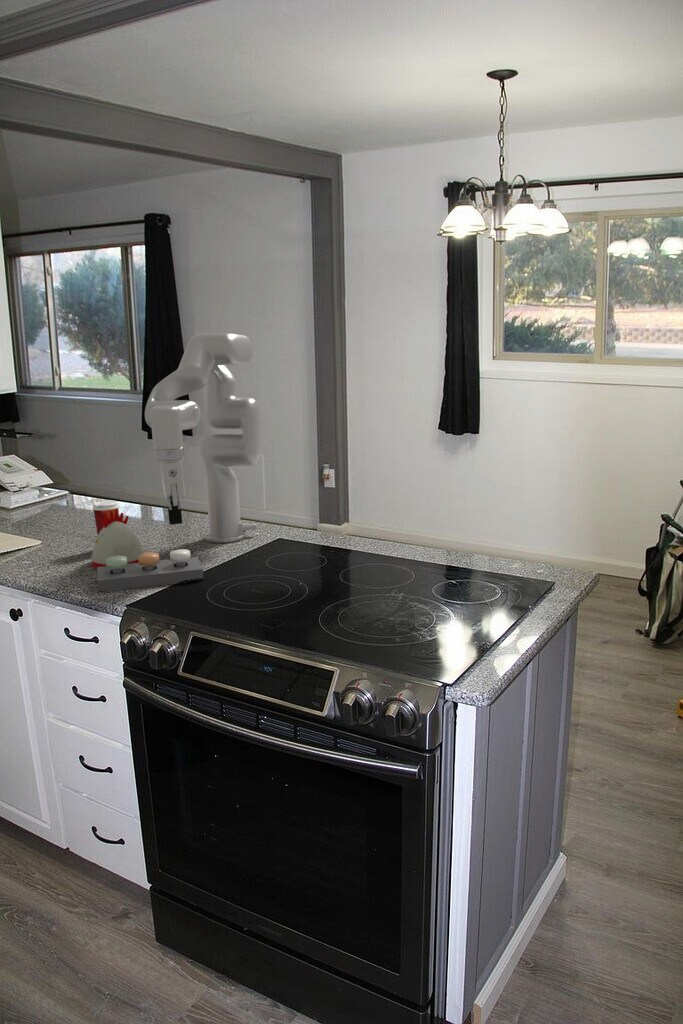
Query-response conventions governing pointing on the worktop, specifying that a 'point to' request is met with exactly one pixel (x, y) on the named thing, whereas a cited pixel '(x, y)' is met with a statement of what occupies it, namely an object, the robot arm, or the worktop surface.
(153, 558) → the button terracotta
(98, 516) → the paper cup
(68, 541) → the worktop surface
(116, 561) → the button sage
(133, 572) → the console
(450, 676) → the worktop surface
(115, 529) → the white rounded crested piece
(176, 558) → the button ivory
